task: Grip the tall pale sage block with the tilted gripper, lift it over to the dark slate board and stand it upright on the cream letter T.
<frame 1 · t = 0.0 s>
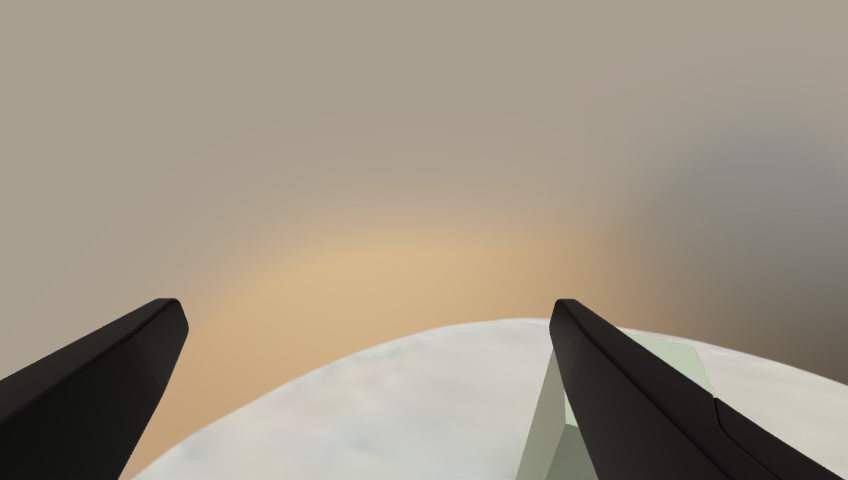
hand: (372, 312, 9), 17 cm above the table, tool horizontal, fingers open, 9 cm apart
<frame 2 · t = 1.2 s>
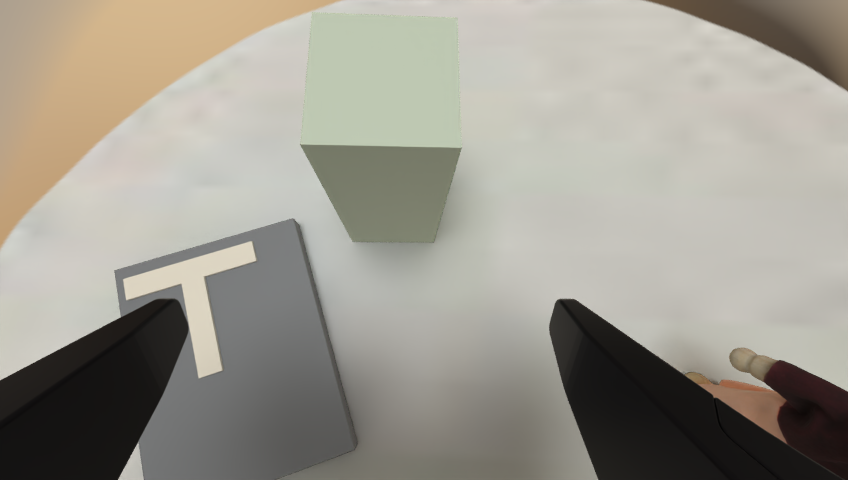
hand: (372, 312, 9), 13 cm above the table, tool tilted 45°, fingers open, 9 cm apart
grandmother figurine: (695, 404, 22), on the table
sage block: (394, 204, 24), on the table
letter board: (239, 355, 21), on the table
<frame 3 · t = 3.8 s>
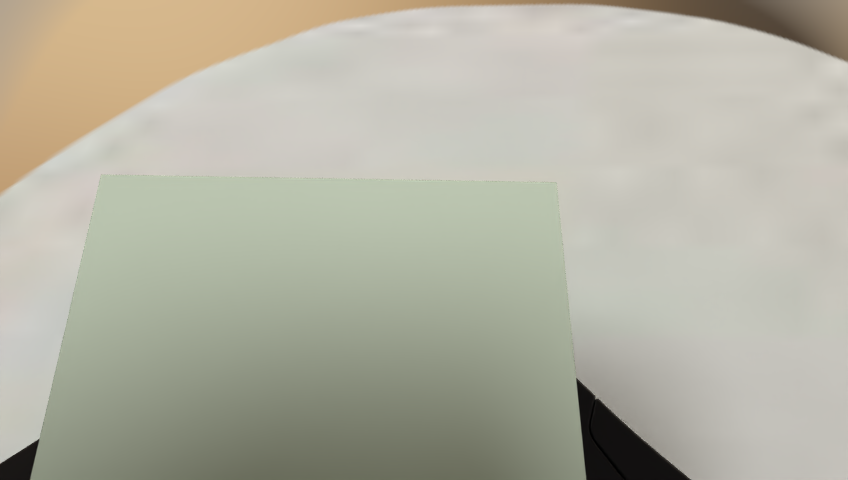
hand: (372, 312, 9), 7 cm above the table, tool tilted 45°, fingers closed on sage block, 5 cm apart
sage block: (385, 358, 15), on the table, touching gripper
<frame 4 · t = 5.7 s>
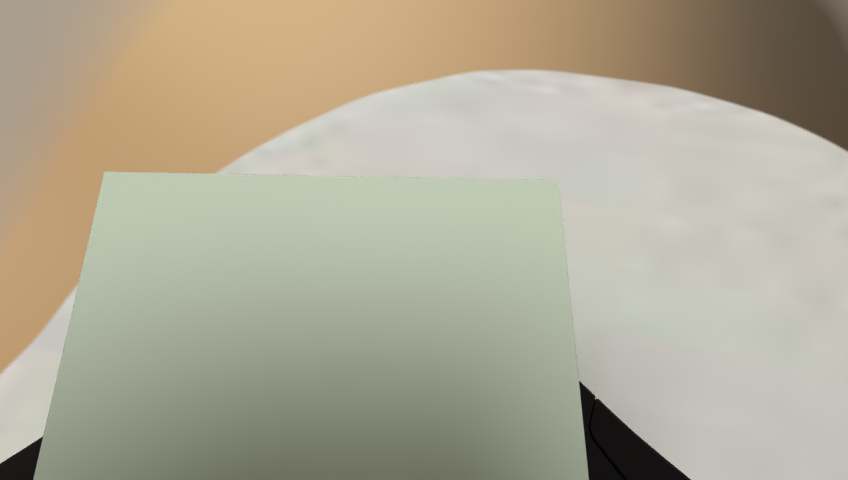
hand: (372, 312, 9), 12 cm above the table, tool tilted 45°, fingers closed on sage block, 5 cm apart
sage block: (385, 358, 15), point 6 cm above the table, touching gripper
when the fingers open (9 cm above the table, at t = 7.5 s): sage block stays where it is, resting on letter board.
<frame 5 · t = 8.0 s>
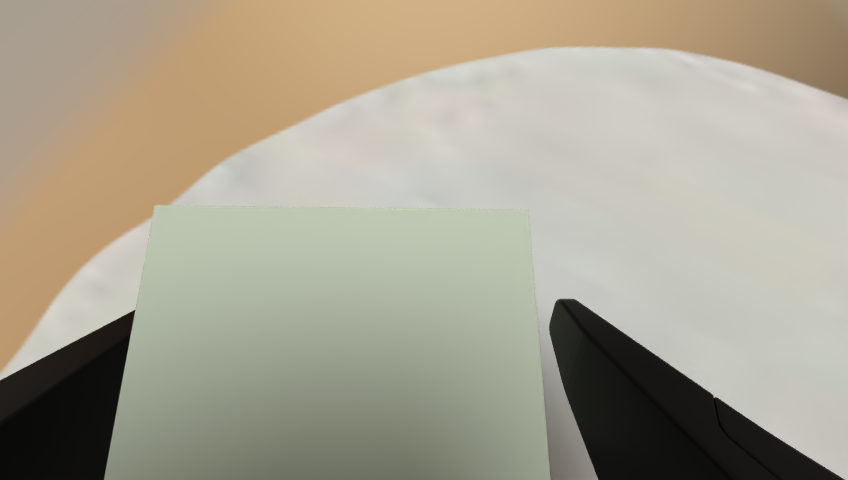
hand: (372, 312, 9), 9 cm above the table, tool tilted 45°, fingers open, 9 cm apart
sage block: (385, 357, 16), point 1 cm above the table, touching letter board
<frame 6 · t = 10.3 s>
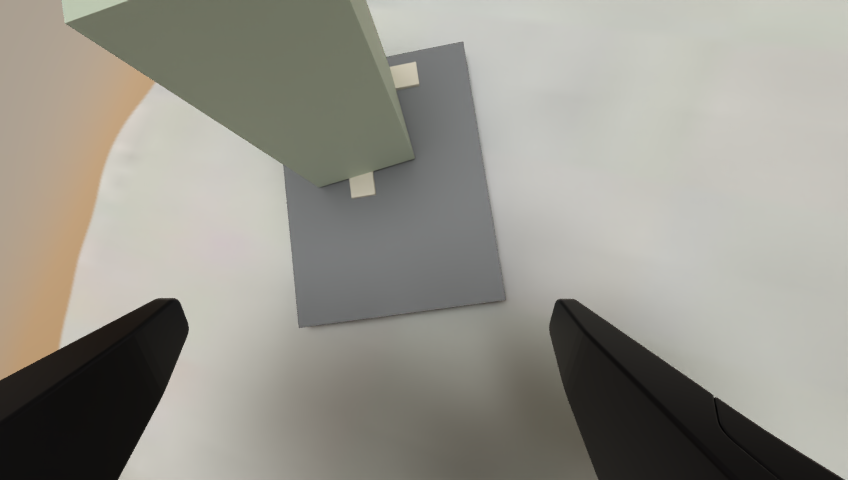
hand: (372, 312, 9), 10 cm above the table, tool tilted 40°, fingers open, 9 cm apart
sage block: (354, 126, 19), point 1 cm above the table, touching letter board
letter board: (387, 187, 20), on the table
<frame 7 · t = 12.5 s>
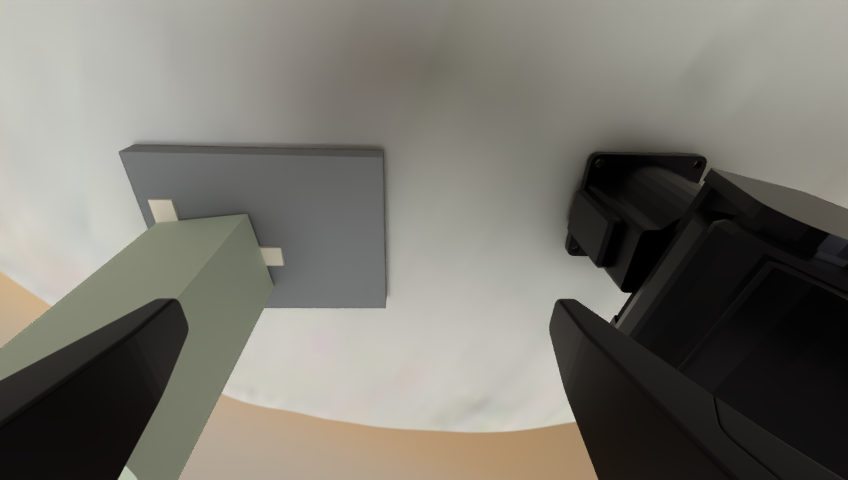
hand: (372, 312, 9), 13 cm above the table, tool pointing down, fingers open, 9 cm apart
sage block: (218, 256, 22), point 1 cm above the table, touching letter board
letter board: (276, 230, 22), on the table
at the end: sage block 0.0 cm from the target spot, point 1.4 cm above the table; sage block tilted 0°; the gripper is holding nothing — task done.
